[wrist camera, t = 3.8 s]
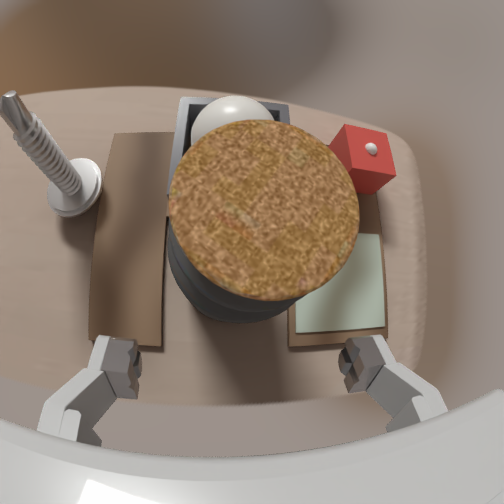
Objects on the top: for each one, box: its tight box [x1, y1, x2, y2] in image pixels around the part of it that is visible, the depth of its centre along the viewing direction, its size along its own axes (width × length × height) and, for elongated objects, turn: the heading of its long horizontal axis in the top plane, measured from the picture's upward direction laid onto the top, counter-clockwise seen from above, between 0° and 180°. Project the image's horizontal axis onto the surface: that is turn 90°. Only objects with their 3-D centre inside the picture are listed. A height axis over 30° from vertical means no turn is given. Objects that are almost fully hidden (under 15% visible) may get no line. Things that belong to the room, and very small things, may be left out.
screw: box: [0, 90, 103, 218], centre depth 15 cm, size 13×5×5 cm
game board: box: [89, 132, 388, 347], centre depth 22 cm, size 23×17×1 cm
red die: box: [328, 124, 396, 195], centre depth 22 cm, size 4×4×4 cm
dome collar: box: [167, 97, 290, 201], centre depth 21 cm, size 8×8×4 cm
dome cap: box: [191, 96, 274, 146], centre depth 19 cm, size 6×6×6 cm
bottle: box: [168, 119, 359, 323], centre depth 14 cm, size 6×6×15 cm
